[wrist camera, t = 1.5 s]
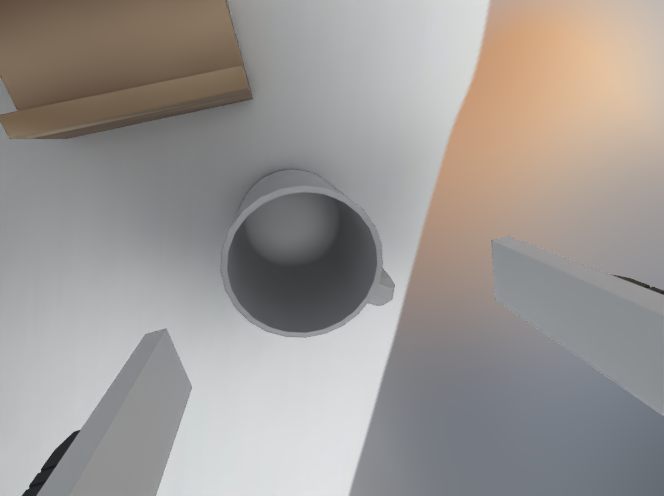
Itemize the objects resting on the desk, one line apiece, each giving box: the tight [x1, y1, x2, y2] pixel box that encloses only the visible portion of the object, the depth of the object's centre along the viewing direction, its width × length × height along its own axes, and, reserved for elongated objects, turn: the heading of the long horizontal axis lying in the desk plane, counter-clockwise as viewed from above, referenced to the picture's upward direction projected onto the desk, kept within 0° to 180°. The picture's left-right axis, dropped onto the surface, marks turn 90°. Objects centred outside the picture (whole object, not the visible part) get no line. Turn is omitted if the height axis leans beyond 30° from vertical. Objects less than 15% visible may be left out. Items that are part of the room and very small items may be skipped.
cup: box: [221, 169, 395, 338], centre depth 19 cm, size 7×10×9 cm
